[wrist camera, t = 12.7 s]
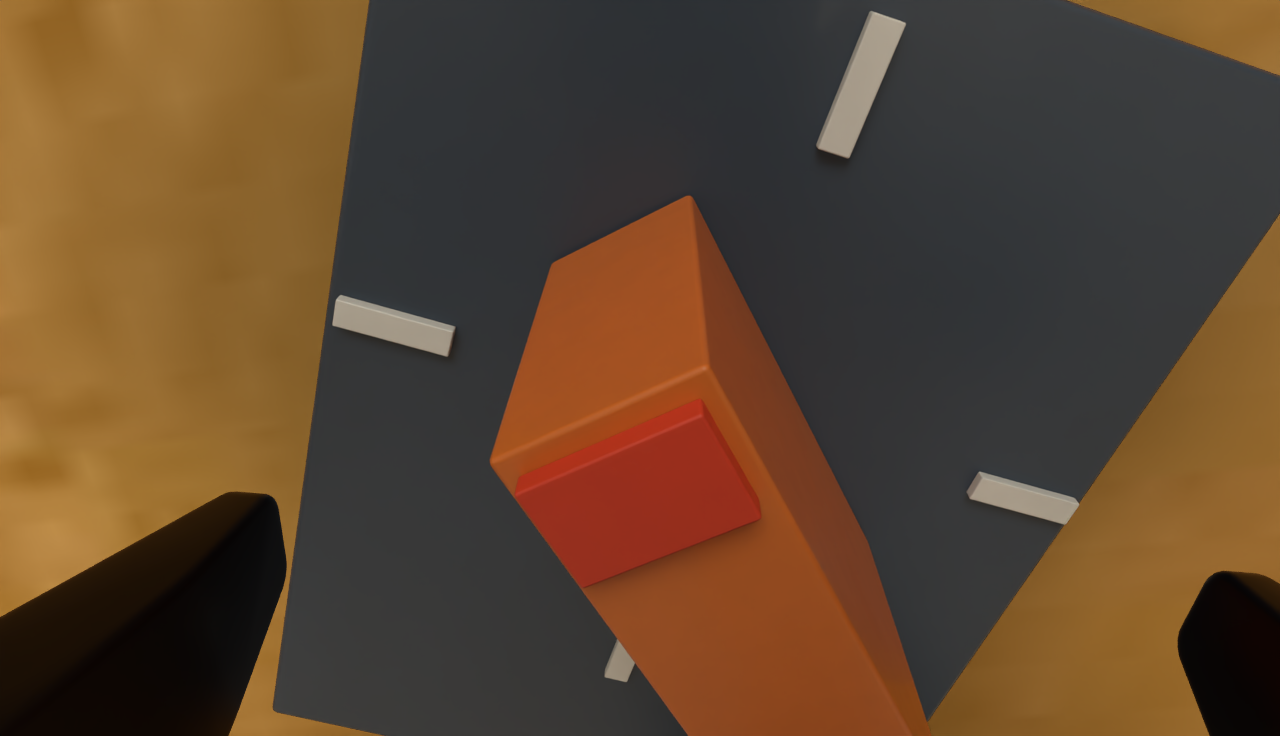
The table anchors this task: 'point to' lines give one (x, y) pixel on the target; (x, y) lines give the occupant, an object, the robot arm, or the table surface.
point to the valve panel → (750, 305)
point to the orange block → (698, 495)
